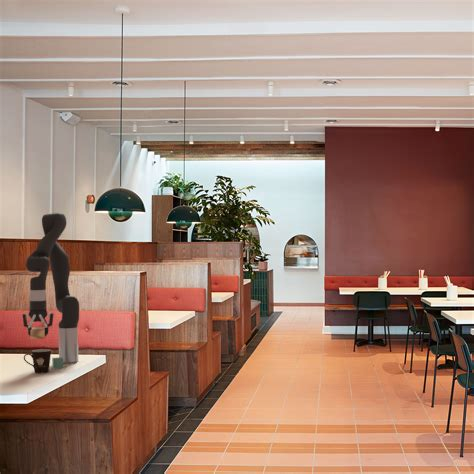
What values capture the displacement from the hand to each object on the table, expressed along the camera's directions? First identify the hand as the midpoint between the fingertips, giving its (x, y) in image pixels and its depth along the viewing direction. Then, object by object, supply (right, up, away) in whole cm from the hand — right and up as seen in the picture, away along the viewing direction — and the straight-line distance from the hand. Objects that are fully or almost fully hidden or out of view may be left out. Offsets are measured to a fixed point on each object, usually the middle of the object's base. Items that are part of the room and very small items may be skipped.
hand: (38, 335), depth 319 cm
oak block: (0, -1, 0) cm, 1 cm away
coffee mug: (0, -17, 0) cm, 17 cm away
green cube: (+6, -17, +11) cm, 21 cm away
